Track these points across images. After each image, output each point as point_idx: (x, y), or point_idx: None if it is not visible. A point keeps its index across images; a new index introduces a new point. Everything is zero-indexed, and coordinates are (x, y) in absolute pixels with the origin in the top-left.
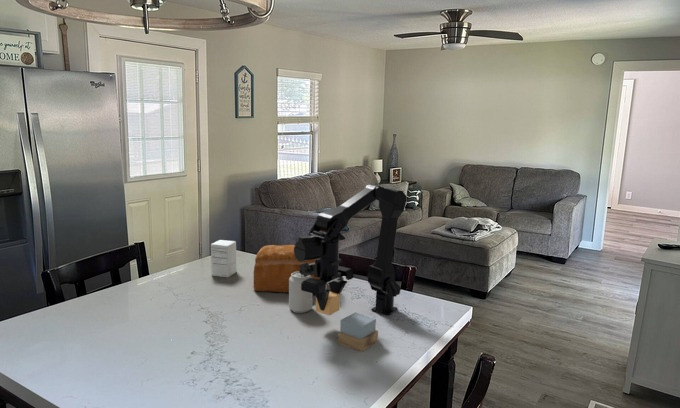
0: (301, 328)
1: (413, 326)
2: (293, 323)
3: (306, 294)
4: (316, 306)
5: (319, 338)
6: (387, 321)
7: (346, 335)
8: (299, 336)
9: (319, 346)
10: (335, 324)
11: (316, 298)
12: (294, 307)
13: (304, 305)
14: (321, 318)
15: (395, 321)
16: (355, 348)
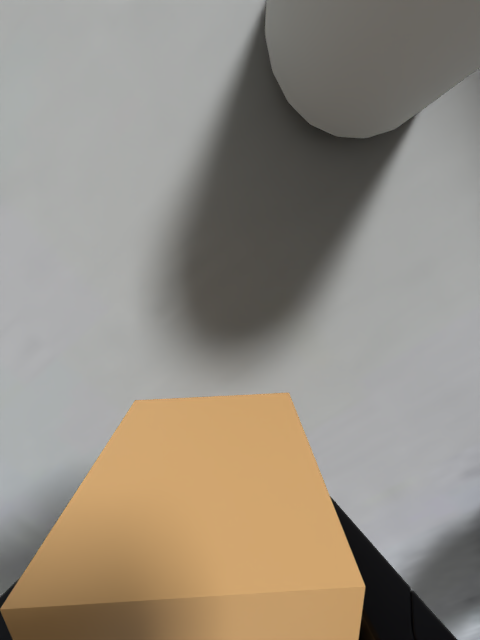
0: (111, 285)
1: (450, 609)
2: (125, 192)
3: (417, 8)
4: (115, 442)
5: (97, 430)
6: (449, 532)
7: None
8: (31, 345)
9: (40, 475)
10: (282, 392)
11: (53, 541)
12: (269, 14)
13: (325, 95)
14: (304, 284)
15: (465, 551)
16: None
